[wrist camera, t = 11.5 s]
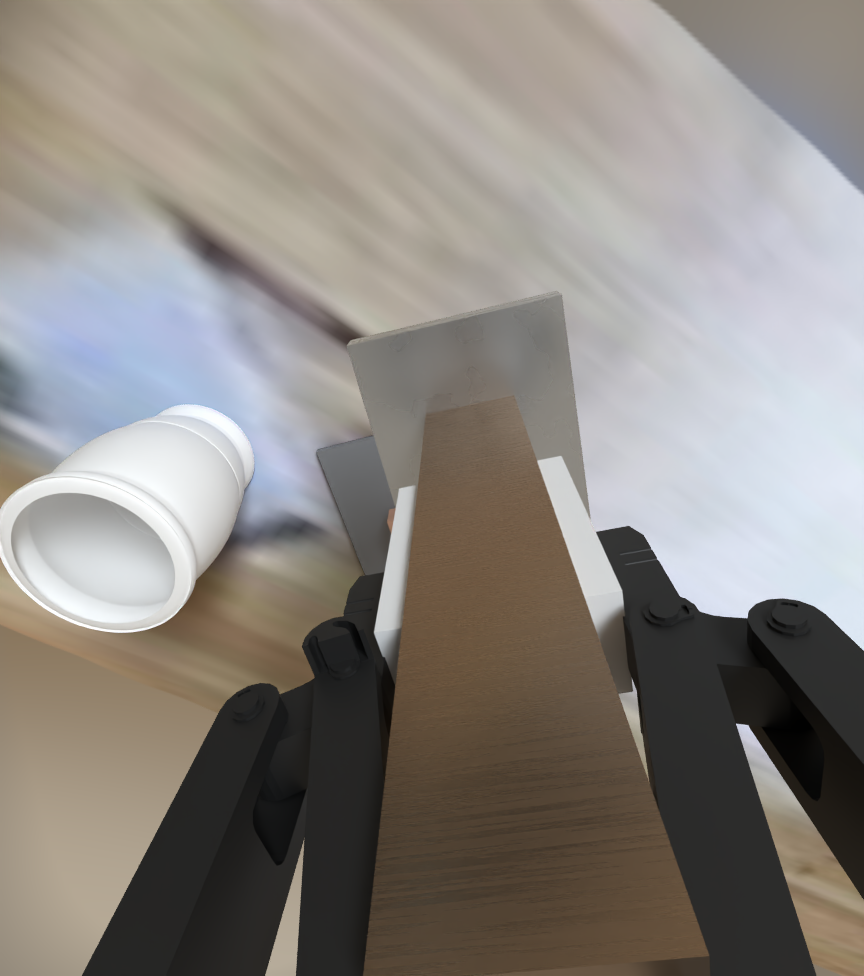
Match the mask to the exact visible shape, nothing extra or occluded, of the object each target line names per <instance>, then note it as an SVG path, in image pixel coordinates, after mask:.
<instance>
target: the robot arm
mask: <svg viewBox="0 0 864 976" xmlns="http://www.w3.org/2000/svg"><path fill="white" fill-rule="evenodd" d="M537 462H538V465H539V468H540V471H541V473H542V476H543V479H544V482H545V485H546V488H547V491H548V494H549V496H550V499H551V502H552V505H553V508H554V511H555V514H556V517H557V519H558V522H559V525H560V528H561V531H562V534H563V537H564V540H565V542H566V545H567V548H568V551H569V554H570V557H571V560H572V563H573V565H574V568H575V571H576V574H577V577H578V580H579V583H580V585H581V588H582V591H583V594H584V597H585V600H586V603H587V606H588V608H589V611H590V614H591V617H592V620H593V623H594V626H595V629H596V631H597V634H598V637H599V640H600V643H601V646H602V649H603V652H604V654H605V657H606V660H607V663H608V666H609V669H610V672H611V675H612V677H613V680H614V683H615V686H616V689H617V692H618V694H619V693H626V692H633V688H632V679H633V682H634V685H635V687H636V690H637V697H638V707H639V717H640V727H641V733H642V735H643V742H644V748H645V755H646V762H647V769H648V776H649V783H650V787H651V789H652V792H653V795H654V798H655V801H656V804H657V807H658V810H659V812H660V815H661V818H662V821H663V824H664V827H665V830H666V833H667V835H668V838H669V841H670V844H671V847H672V850H673V853H674V856H675V858H676V861H677V864H678V867H679V870H680V873H681V876H682V879H683V881H684V884H685V887H686V890H687V893H688V896H689V899H690V901H691V904H692V907H693V910H694V913H695V916H696V919H697V922H698V924H699V927H700V930H701V933H702V936H703V939H704V942H705V945H706V947H707V950H708V953H709V956H710V976H816V973H815V970H814V967H813V964H812V960H811V957H810V954H809V951H808V948H807V945H806V942H805V939H804V935H803V932H802V929H801V926H800V923H799V920H798V917H797V914H796V910H795V907H794V904H793V901H792V898H791V895H790V892H789V889H788V885H787V882H786V879H785V876H784V873H783V870H782V867H781V864H780V860H779V857H778V854H777V851H776V848H775V845H774V842H773V839H772V835H771V832H770V829H769V826H768V823H767V820H766V817H765V814H764V810H763V807H762V804H761V801H760V798H759V795H758V792H757V789H756V785H755V782H754V779H753V776H752V773H751V770H750V767H749V764H748V760H747V757H746V754H745V751H744V748H743V745H742V742H741V739H740V735H739V732H738V729H737V726H736V723H737V724H745V725H749V727H750V729H751V730H752V732H753V733H754V735H755V736H756V738H757V740H758V741H759V743H760V744H761V746H762V747H763V749H764V750H765V752H766V753H767V755H768V756H769V758H770V759H771V761H772V762H773V764H774V765H775V767H776V768H777V770H778V771H779V773H780V774H781V776H782V777H783V779H784V780H785V782H786V783H787V785H788V786H789V788H790V789H791V791H792V792H793V794H794V795H795V797H796V798H797V800H798V801H799V803H800V804H801V806H802V807H803V809H804V810H805V812H806V813H807V815H808V816H809V818H810V819H811V821H812V822H813V824H814V825H815V827H816V828H817V830H818V832H819V833H820V835H821V836H822V838H823V839H824V841H825V842H826V844H827V845H828V847H829V848H830V850H831V851H832V853H833V854H834V856H835V857H836V859H837V860H838V862H839V863H840V865H841V866H842V868H843V869H844V871H845V872H846V874H847V875H848V877H849V878H850V880H851V881H852V883H853V884H854V886H855V887H856V889H857V890H858V892H859V893H860V895H861V896H862V898H863V899H864V651H863V650H862V649H861V648H860V647H859V646H858V645H857V644H856V643H855V642H854V641H853V640H852V639H851V638H850V637H849V636H848V635H847V634H845V633H844V632H843V631H842V630H841V629H840V628H839V627H838V626H837V625H836V624H835V623H834V622H833V621H832V620H831V619H830V618H829V617H828V616H827V615H826V614H824V613H823V612H821V611H820V610H818V609H817V608H815V607H814V606H811V605H809V604H806V603H803V602H801V601H796V600H789V599H770V600H766V601H763V602H760V603H757V604H756V605H755V606H754V607H752V608H751V609H750V610H749V613H748V618H732V617H720V616H713V615H709V614H706V613H702V612H700V611H699V610H698V609H697V607H696V606H695V605H694V604H693V603H691V602H690V601H688V600H687V599H685V598H682V597H680V596H679V594H678V593H677V591H676V589H675V588H674V586H673V584H672V583H671V581H670V579H669V577H668V576H667V574H666V572H665V571H664V569H663V567H662V566H661V564H660V562H659V561H658V560H657V557H656V555H655V554H654V552H653V550H651V547H650V545H649V544H648V542H647V540H646V539H645V537H644V535H642V534H641V533H639V532H638V531H636V530H634V529H633V528H631V527H630V526H626V527H621V528H615V529H610V530H604V531H599V532H596V531H595V529H594V527H593V525H592V523H591V520H590V518H589V516H588V514H587V511H586V509H585V507H584V505H583V503H582V500H581V498H580V496H579V494H578V492H577V489H576V487H575V485H574V483H573V480H572V478H571V476H570V474H569V472H568V469H567V467H566V465H565V463H564V460H563V458H562V456H558V457H553V458H548V459H543V460H538V461H537ZM417 489H418V485H414V486H409V487H404V488H399V493H398V498H397V504H396V510H395V515H394V521H393V527H392V533H391V538H390V544H389V550H388V555H387V561H386V567H385V572H382V573H376V574H371V575H365V576H360V577H359V578H358V580H357V581H356V582H355V584H354V585H353V586H352V587H351V589H350V590H349V594H348V598H347V602H346V604H347V605H346V606H345V610H344V616H343V617H338V618H332V619H330V620H328V621H325V622H323V623H321V624H320V625H318V626H317V627H315V628H314V629H312V630H311V632H310V633H309V634H308V635H307V636H306V638H305V639H304V642H303V645H302V648H303V650H304V653H305V655H306V657H307V659H308V662H309V664H310V666H311V668H312V671H313V673H314V675H315V678H314V679H313V680H311V681H310V682H308V683H306V684H304V685H302V686H300V687H297V688H295V689H292V690H290V691H288V692H285V693H283V694H279V692H278V690H277V688H276V687H274V686H273V685H271V684H266V683H259V684H255V685H251V686H248V687H246V688H244V689H242V690H240V691H238V692H237V693H236V694H234V695H233V696H232V697H231V698H230V699H228V700H227V701H226V703H225V704H224V706H223V707H222V708H221V710H220V711H219V713H218V715H217V717H216V719H215V721H214V723H213V725H212V727H211V729H210V731H209V732H208V734H207V736H206V738H205V740H204V742H203V744H202V746H201V748H200V750H199V752H198V754H197V756H196V757H195V759H194V761H193V763H192V765H191V767H190V769H189V771H188V773H187V775H186V777H185V779H184V780H183V782H182V784H181V786H180V788H179V790H178V792H177V794H176V796H175V798H174V800H173V802H172V804H171V805H170V807H169V809H168V811H167V813H166V815H165V817H164V819H163V821H162V823H161V825H160V827H159V828H158V830H157V832H156V834H155V836H154V838H153V840H152V842H151V844H150V846H149V848H148V850H147V852H146V853H145V855H144V857H143V859H142V861H141V863H140V865H139V867H138V869H137V871H136V873H135V875H134V877H133V878H132V880H131V882H130V884H129V886H128V888H127V890H126V892H125V894H124V896H123V898H122V900H121V902H120V903H119V905H118V907H117V909H116V911H115V913H114V915H113V917H112V919H111V921H110V923H109V925H108V927H107V929H106V930H105V932H104V934H103V936H102V938H101V940H100V942H99V944H98V946H97V948H96V950H95V951H94V953H93V955H92V957H91V959H90V961H89V963H88V965H87V967H86V969H85V971H84V973H83V975H82V976H265V974H266V970H267V967H268V963H269V960H270V956H271V952H272V949H273V946H274V942H275V939H276V935H277V931H278V928H279V925H280V921H281V918H282V914H283V911H284V907H285V904H286V900H287V897H288V893H289V890H290V886H291V882H292V879H293V876H294V872H295V869H296V865H297V862H298V858H299V855H300V851H301V848H302V844H303V840H304V837H305V841H304V856H303V872H302V888H301V905H300V920H299V921H300V922H299V936H298V952H297V968H296V976H363V972H364V963H365V954H366V945H367V936H368V927H369V918H370V909H371V900H372V891H373V882H374V873H375V864H376V855H377V846H378V838H379V829H380V820H381V811H382V802H383V793H384V784H385V775H386V766H387V757H388V748H389V739H390V730H391V721H392V712H393V703H394V694H395V686H396V677H397V668H398V659H399V650H400V641H401V632H402V623H403V614H404V605H405V596H406V587H407V578H408V569H409V560H410V551H411V542H412V533H413V525H414V516H415V507H416V498H417ZM631 677H632V678H631Z"/></svg>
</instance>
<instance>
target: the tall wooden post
mask: <svg viewBox="0 0 864 976" xmlns="http://www.w3.org/2000/svg"><path fill="white" fill-rule="evenodd" d="M347 349H348V352H349V356H350V359H351V362H352V366H353V369H354V372H355V376H356V379H357V382H358V386H359V389H360V392H361V395H362V399H363V402H364V405H365V409H366V412H367V415H368V419H369V422H370V425H371V429H372V432H373V435H374V438H375V442H376V445H377V448H378V452H379V455H380V458H381V462H382V465H383V468H384V472H385V475H386V478H387V481H388V485H389V488H390V491H391V495H392V498H393V501H394V505H395V508H396V504H397V498H398V493H399V488H404V487H409V486H414V485H418V489H417V498H416V507H415V516H414V525H413V533H412V542H411V551H410V560H409V569H408V578H407V587H406V596H405V605H404V614H403V623H402V632H401V641H400V650H399V659H398V668H397V677H396V686H395V694H394V703H393V712H392V721H391V730H390V739H389V748H388V757H387V766H386V775H385V784H384V793H383V802H382V811H381V820H380V829H379V838H378V846H377V855H376V864H375V873H374V882H373V891H372V900H371V909H370V918H369V927H368V936H367V945H366V954H365V963H364V972H363V976H710V956H709V953H708V950H707V947H706V945H705V942H704V939H703V936H702V933H701V930H700V927H699V924H698V922H697V919H696V916H695V913H694V910H693V907H692V904H691V901H690V899H689V896H688V893H687V890H686V887H685V884H684V881H683V879H682V876H681V873H680V870H679V867H678V864H677V861H676V858H675V856H674V853H673V850H672V847H671V844H670V841H669V838H668V835H667V833H666V830H665V827H664V824H663V821H662V818H661V815H660V812H659V810H658V807H657V804H656V801H655V798H654V795H653V792H652V789H651V787H650V784H649V781H648V778H647V775H646V772H645V769H644V766H643V764H642V761H641V758H640V755H639V752H638V749H637V746H636V743H635V741H634V738H633V735H632V732H631V729H630V726H629V723H628V721H627V718H626V715H625V712H624V709H623V706H622V703H621V700H620V698H619V695H618V692H617V689H616V686H615V683H614V680H613V677H612V675H611V672H610V669H609V666H608V663H607V660H606V657H605V654H604V652H603V649H602V646H601V643H600V640H599V637H598V634H597V631H596V629H595V626H594V623H593V620H592V617H591V614H590V611H589V608H588V606H587V603H586V600H585V597H584V594H583V591H582V588H581V585H580V583H579V580H578V577H577V574H576V571H575V568H574V565H573V563H572V560H571V557H570V554H569V551H568V548H567V545H566V542H565V540H564V537H563V534H562V531H561V528H560V525H559V522H558V519H557V517H556V514H555V511H554V508H553V505H552V502H551V499H550V496H549V494H548V491H547V488H546V485H545V482H544V479H543V476H542V473H541V471H540V468H539V465H538V462H537V461H538V460H543V459H548V458H553V457H558V456H562V458H563V460H564V463H565V465H566V467H567V469H568V472H569V474H570V476H571V478H572V480H573V483H574V485H575V487H576V489H577V492H578V494H579V496H580V498H581V500H582V503H583V505H584V507H585V509H586V511H587V514H588V516H589V518H590V511H589V503H588V495H587V488H586V480H585V472H584V464H583V456H582V448H581V441H580V433H579V425H578V417H577V409H576V401H575V394H574V386H573V378H572V370H571V362H570V355H569V347H568V339H567V331H566V323H565V315H564V308H563V300H562V295H561V294H560V293H559V292H558V291H555V292H551V293H547V294H543V295H538V296H534V297H530V298H526V299H522V300H518V301H513V302H509V303H505V304H501V305H497V306H492V307H488V308H484V309H480V310H476V311H472V312H467V313H463V314H459V315H455V316H451V317H446V318H442V319H438V320H434V321H430V322H426V323H421V324H417V325H413V326H409V327H405V328H400V329H396V330H392V331H388V332H384V333H380V334H375V335H371V336H367V337H363V338H359V339H354V340H351V341H350V342H349V343H348V345H347ZM590 520H591V519H590Z"/></svg>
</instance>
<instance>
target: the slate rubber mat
mask: <svg viewBox="0 0 864 976" xmlns="http://www.w3.org/2000/svg"><path fill="white" fill-rule="evenodd" d="M316 453H317V455H318V458H319V460H320V463H321V465H322V468H323V470H324V473H325V475H326V478H327V480H328V483H329V485H330V488H331V490H332V493H333V495H334V498H335V500H336V503H337V505H338V508H339V511H340V513H341V516H342V518H343V521H344V523H345V526H346V528H347V531H348V533H349V536H350V538H351V541H352V543H353V546H354V548H355V551H356V553H357V556H358V558H359V561H360V564H361V566H362V569H363V571H364V574H365V575H371V574H376V573H382V572H385V567H386V561H387V555H388V550H389V544H390V538H391V532H390V529H389V526H388V523H387V519H388V514H389V509H393V508H395V505H394V501H393V498H392V495H391V491H390V488H389V485H388V481H387V478H386V475H385V472H384V468H383V465H382V462H381V458H380V455H379V452H378V448H377V445H376V442H375V438H374V435H373V436H369V437H366V438H362V439H358V440H354V441H350V442H346V443H342V444H338V445H334V446H330V447H326V448H322V449H318V450H317V452H316Z"/></svg>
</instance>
